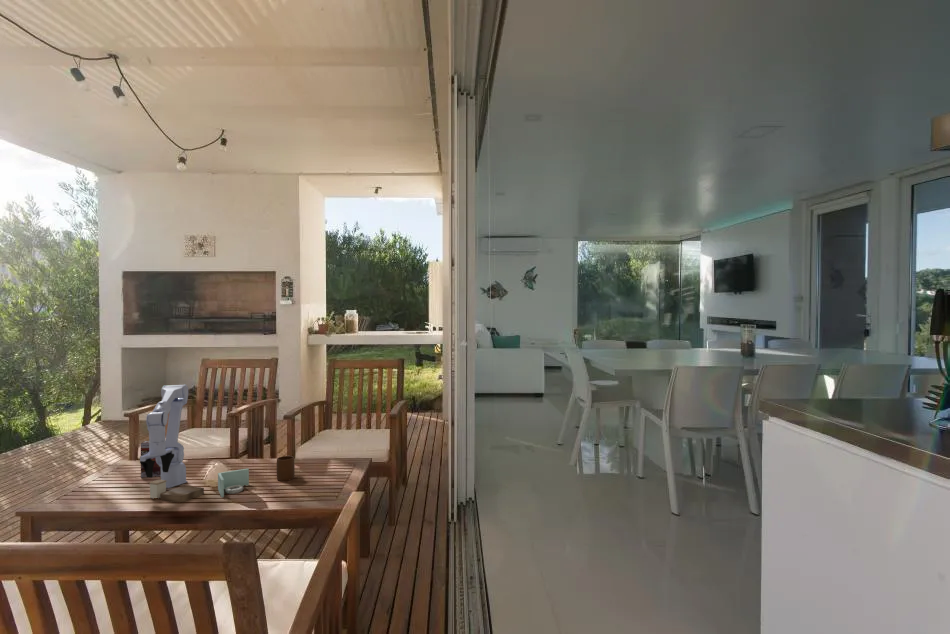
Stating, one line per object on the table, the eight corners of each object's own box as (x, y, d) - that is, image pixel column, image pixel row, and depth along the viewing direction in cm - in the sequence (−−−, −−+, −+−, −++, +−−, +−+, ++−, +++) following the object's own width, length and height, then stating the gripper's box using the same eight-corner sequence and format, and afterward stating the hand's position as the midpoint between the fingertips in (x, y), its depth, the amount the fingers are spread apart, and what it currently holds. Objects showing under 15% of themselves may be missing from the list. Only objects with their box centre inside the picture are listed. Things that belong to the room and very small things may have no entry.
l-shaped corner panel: (221, 498, 212) (221, 480, 213) (218, 490, 223) (217, 473, 223) (253, 493, 219) (253, 475, 219) (248, 485, 229) (248, 468, 229)
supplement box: (140, 477, 241) (139, 443, 242) (144, 474, 246) (144, 441, 246) (160, 476, 243) (160, 442, 243) (164, 473, 248) (164, 439, 248)
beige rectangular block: (159, 494, 217) (158, 479, 217) (166, 495, 216) (166, 480, 216) (149, 497, 213) (149, 482, 213) (156, 499, 212) (156, 483, 212)
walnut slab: (184, 492, 221) (184, 485, 221) (203, 495, 217) (203, 487, 217) (160, 501, 210) (160, 493, 211) (180, 503, 207) (180, 496, 207)
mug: (282, 473, 244) (282, 453, 244) (299, 473, 245) (299, 453, 245) (274, 481, 232) (274, 460, 232) (291, 481, 233) (291, 459, 233)
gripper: (164, 437, 223) (164, 469, 223) (133, 444, 209) (134, 479, 209) (177, 437, 221) (178, 470, 221) (147, 445, 207) (148, 480, 207)
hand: (157, 474), depth 214 cm, fingers open, 7 cm apart
